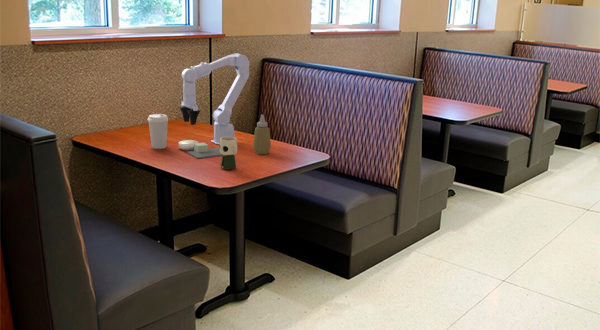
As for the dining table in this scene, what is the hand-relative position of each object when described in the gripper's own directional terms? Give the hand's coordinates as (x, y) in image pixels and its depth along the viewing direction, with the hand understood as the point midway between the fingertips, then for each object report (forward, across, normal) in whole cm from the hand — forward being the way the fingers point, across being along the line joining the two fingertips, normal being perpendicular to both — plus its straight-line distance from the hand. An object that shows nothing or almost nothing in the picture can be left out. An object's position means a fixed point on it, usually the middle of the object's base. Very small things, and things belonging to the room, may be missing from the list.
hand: (189, 123), depth 284 cm
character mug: (+11, +45, -3) cm, 46 cm away
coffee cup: (+11, -2, -15) cm, 18 cm away
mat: (+10, +20, 0) cm, 22 cm away
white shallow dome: (+10, +7, -4) cm, 13 cm away
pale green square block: (+10, +15, -1) cm, 18 cm away
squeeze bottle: (+10, +30, +22) cm, 39 cm away
